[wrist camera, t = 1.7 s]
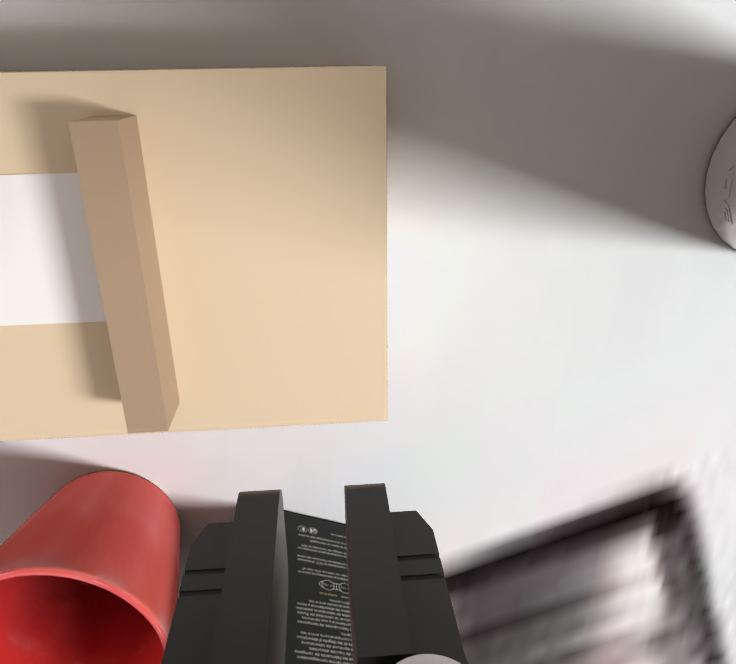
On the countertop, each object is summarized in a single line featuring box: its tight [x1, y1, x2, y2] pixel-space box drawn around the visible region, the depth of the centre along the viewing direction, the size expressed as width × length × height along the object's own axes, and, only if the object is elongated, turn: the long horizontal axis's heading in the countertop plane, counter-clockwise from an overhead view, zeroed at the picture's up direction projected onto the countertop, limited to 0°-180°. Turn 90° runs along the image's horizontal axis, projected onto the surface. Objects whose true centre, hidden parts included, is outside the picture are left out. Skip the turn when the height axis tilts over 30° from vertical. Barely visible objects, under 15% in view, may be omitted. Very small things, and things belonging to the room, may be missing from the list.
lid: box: [0, 66, 388, 441], centre depth 25 cm, size 20×15×3 cm
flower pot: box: [0, 471, 180, 664], centre depth 34 cm, size 11×11×10 cm
